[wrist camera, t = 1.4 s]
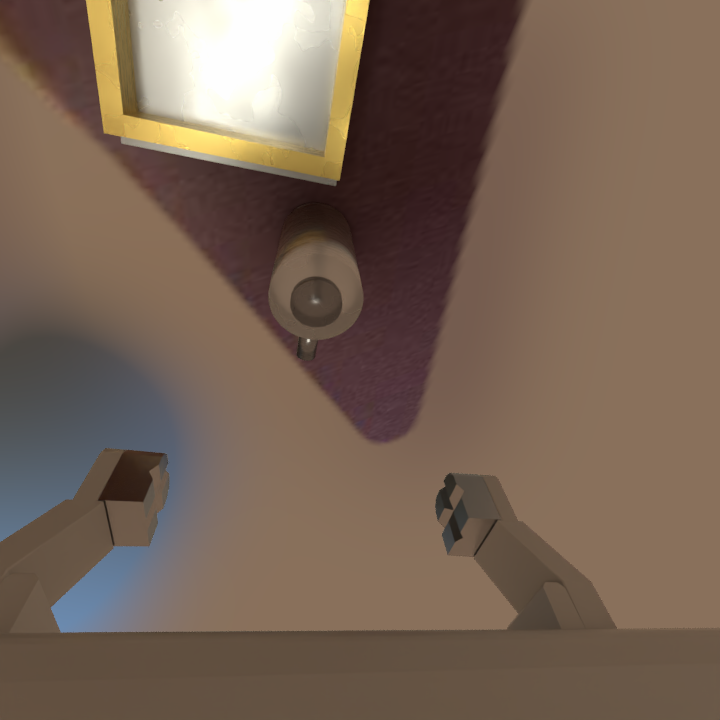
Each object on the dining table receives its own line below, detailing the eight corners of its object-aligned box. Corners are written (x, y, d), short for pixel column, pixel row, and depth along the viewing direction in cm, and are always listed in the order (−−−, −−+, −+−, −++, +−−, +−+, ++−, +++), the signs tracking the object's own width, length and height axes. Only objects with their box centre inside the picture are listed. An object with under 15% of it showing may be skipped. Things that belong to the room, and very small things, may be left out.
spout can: (285, 196, 28) (271, 251, 20) (357, 209, 29) (373, 268, 21) (275, 290, 33) (261, 370, 24) (339, 299, 34) (347, 379, 25)
